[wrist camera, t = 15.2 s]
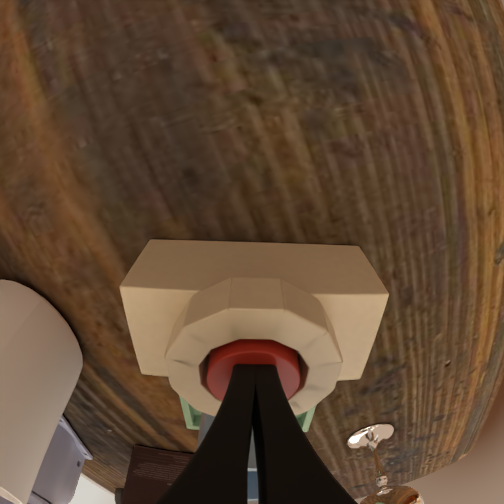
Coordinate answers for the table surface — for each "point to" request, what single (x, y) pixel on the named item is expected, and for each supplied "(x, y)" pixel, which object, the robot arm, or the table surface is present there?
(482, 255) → the table surface
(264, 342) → the button
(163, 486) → the box
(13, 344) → the mug
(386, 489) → the wineglass
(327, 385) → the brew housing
